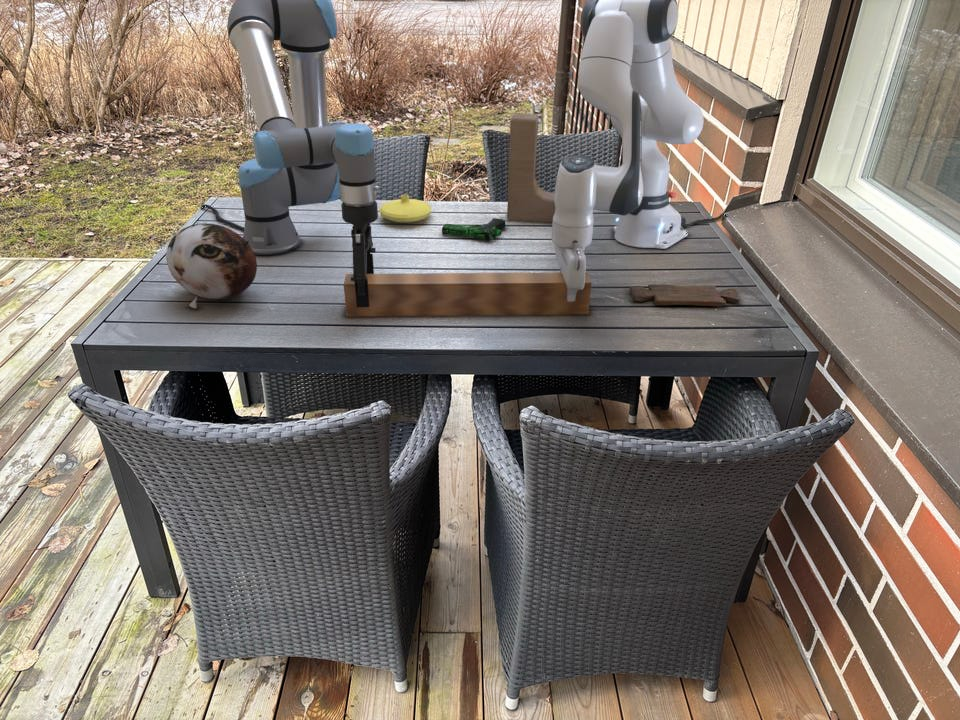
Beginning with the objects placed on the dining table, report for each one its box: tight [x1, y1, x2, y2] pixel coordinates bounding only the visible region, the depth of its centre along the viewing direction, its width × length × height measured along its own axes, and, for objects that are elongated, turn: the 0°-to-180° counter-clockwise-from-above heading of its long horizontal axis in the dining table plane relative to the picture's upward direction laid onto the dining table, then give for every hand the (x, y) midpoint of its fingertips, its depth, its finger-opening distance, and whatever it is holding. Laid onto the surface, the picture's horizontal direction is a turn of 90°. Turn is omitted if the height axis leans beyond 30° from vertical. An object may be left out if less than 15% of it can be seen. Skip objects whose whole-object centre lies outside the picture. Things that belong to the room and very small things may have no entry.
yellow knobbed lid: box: [378, 194, 433, 224], centre depth 215 cm, size 16×16×7 cm
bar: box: [343, 271, 593, 318], centre depth 163 cm, size 55×6×8 cm, turn 93°
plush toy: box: [165, 222, 258, 309], centre depth 165 cm, size 22×18×20 cm
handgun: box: [441, 217, 506, 242], centre depth 207 cm, size 16×3×15 cm
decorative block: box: [506, 112, 555, 223], centre depth 211 cm, size 8×15×30 cm, turn 82°
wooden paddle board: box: [629, 284, 740, 307], centre depth 171 cm, size 26×2×10 cm
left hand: (365, 293), depth 161 cm, fingers open, 13 cm apart
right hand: (567, 291), depth 163 cm, fingers open, 8 cm apart
